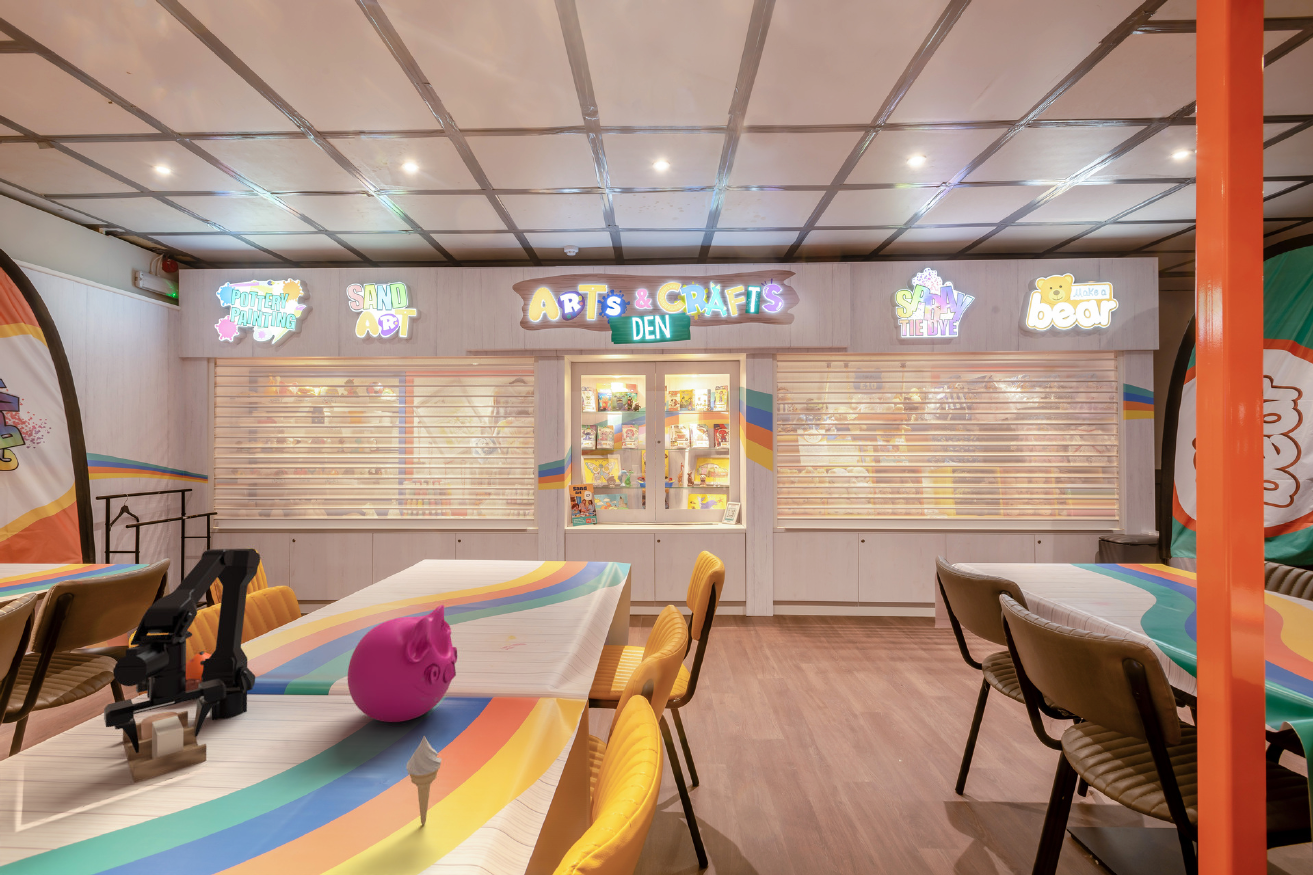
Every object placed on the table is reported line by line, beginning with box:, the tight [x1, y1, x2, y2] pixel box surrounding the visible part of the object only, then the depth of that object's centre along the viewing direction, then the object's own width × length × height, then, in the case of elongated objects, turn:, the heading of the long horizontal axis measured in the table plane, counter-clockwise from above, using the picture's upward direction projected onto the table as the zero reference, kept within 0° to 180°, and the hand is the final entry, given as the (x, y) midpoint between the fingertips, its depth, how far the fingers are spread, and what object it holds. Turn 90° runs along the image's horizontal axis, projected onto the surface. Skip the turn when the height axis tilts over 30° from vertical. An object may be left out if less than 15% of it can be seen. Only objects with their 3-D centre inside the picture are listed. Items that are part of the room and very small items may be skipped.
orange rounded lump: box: [186, 650, 213, 692], centre depth 154 cm, size 12×10×11 cm
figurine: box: [347, 604, 458, 723], centre depth 142 cm, size 23×24×25 cm
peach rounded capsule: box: [140, 711, 179, 741], centre depth 128 cm, size 6×6×5 cm
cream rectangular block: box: [152, 716, 183, 759], centre depth 121 cm, size 4×8×7 cm, turn 46°
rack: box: [122, 710, 207, 784], centre depth 124 cm, size 11×23×4 cm, turn 46°
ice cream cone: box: [405, 735, 443, 826], centre depth 101 cm, size 6×6×15 cm
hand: (167, 743), depth 121 cm, fingers open, 9 cm apart
